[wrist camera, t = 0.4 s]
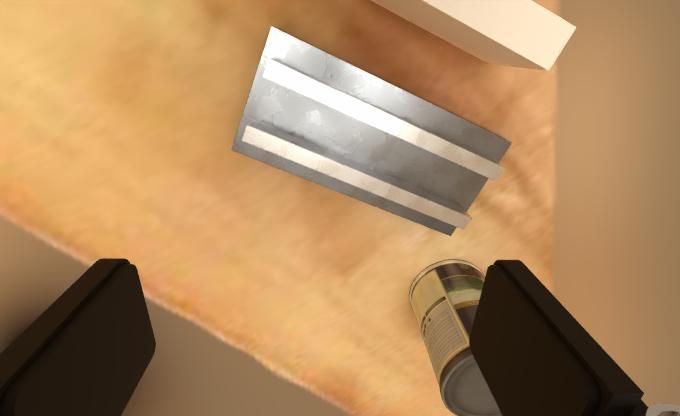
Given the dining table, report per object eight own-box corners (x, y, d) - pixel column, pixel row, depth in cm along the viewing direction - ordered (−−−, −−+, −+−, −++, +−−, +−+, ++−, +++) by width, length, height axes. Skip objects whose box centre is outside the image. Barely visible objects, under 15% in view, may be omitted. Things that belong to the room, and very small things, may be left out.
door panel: (375, -47, 29) (399, -87, 20) (507, 28, 32) (579, 22, 23) (358, -6, 31) (374, -27, 22) (487, 63, 34) (548, 70, 25)
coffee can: (469, 245, 43) (533, 331, 30) (495, 301, 47) (561, 397, 34) (395, 281, 44) (424, 376, 32) (426, 331, 48) (464, 434, 36)
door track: (273, 26, 31) (266, 24, 27) (504, 139, 37) (527, 150, 33) (234, 145, 36) (223, 158, 32) (446, 229, 41) (460, 249, 37)
